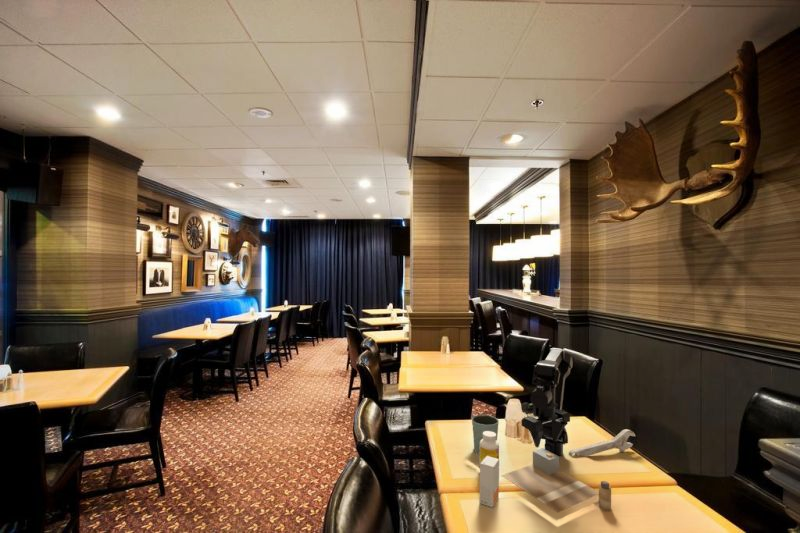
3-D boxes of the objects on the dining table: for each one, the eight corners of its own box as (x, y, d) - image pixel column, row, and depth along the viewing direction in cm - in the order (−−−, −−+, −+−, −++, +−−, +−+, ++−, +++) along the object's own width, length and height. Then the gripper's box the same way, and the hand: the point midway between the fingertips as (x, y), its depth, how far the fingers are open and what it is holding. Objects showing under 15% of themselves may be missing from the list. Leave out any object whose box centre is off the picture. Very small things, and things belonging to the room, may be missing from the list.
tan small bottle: (602, 502, 114) (603, 479, 114) (613, 508, 111) (613, 484, 111) (596, 506, 112) (596, 481, 112) (606, 512, 109) (607, 487, 109)
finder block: (542, 461, 135) (542, 446, 135) (559, 471, 129) (559, 455, 129) (532, 465, 133) (532, 450, 133) (549, 474, 127) (549, 458, 127)
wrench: (569, 465, 141) (632, 447, 149) (572, 468, 140) (636, 449, 147) (567, 444, 141) (631, 427, 149) (570, 446, 139) (635, 429, 147)
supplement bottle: (499, 476, 127) (499, 438, 128) (479, 474, 129) (479, 436, 129) (498, 466, 134) (498, 430, 134) (479, 464, 135) (479, 428, 136)
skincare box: (492, 508, 110) (493, 467, 111) (479, 503, 113) (479, 463, 113) (499, 497, 116) (499, 458, 116) (485, 493, 118) (486, 455, 118)
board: (542, 464, 136) (542, 461, 136) (600, 496, 117) (600, 492, 117) (501, 478, 126) (501, 475, 126) (557, 516, 107) (557, 512, 107)
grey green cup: (501, 448, 148) (502, 418, 148) (493, 459, 139) (493, 426, 139) (477, 442, 153) (477, 412, 153) (467, 452, 145) (467, 420, 145)
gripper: (545, 388, 143) (544, 429, 143) (509, 396, 134) (509, 440, 134) (571, 397, 133) (570, 441, 133) (534, 407, 124) (534, 454, 124)
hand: (545, 444), depth 131 cm, fingers open, 9 cm apart
